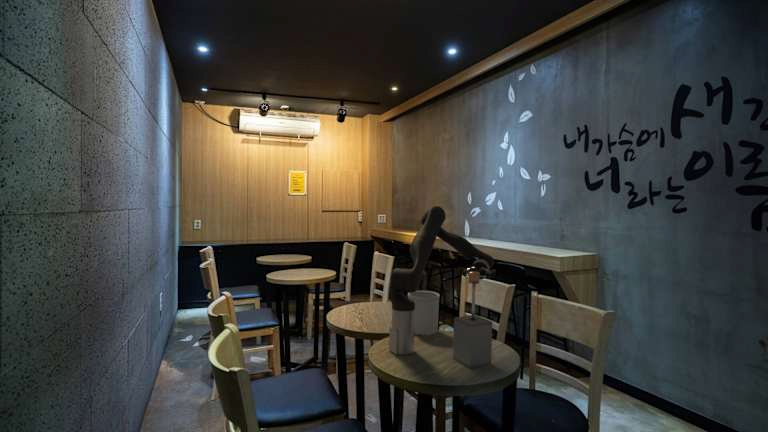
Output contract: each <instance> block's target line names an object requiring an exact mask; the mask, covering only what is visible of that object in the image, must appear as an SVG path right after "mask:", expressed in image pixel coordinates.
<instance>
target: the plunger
mask: <svg viewBox="0 0 768 432" xmlns="http://www.w3.org/2000/svg"><path fill="white" fill-rule="evenodd" d="M468 284H471V285H472V286H471V315H472V316H471V315H470V316H471V320H472V321H474V320H475V315H476V313H475V312H476V286H477V285H476V284H480V272H476V271H470V272H469V276H468Z"/></svg>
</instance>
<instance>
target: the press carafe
mask: <svg viewBox="0 0 768 432" xmlns="http://www.w3.org/2000/svg"><path fill="white" fill-rule="evenodd" d="M471 316H472V314H471V315H463V316H457V317H454V318H453V322H454V324H453V351H452V352H453V353H452V354H453V360H455V361H456V362H458V363H460V364H461V365H463V366H465V367H467V368H468V369H471V368H472V369H473V368H478V367H482V366H488V365H492V350H493V347H492V346H493V343H492V341H493V340H492V339H493V321H492V320H489V319H487V318H484V317H481V316H479V315H476V314H475V320H474V321H472V320H471Z"/></svg>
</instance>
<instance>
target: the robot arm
mask: <svg viewBox="0 0 768 432" xmlns="http://www.w3.org/2000/svg"><path fill="white" fill-rule="evenodd" d="M446 217H447V215H446V212H445V210H444V208H443V207H441V206H438V205H433V206H432V207H430V208H428V209H427V211H426V212H425V213H424V215H423V216H422V217H421V219H420V223H421V225H422V226H421V227H420V229H419V230H418V231H417V232H416V234H415V236H414V237H413V239H412V242H411V244H410V246H409V253H410V257H411V259H412V262H413V267H412V268H399V267H397V268H394V269H393V270H392V273H391V276H390V294H391V295H390V296H391V297H390V298H391V301H390V302H391V326H389V330H388V331H389V334H388V335H389V337H388V338H389V339H388V343H389V344H388V350H389V351H390V352H391V353H393V354H394V355H396V356H397V355H398V356H399V355H402V356H407V355H412V354H413V353H415V334H414V328H415V302H414V301H413V300H411V299H409V298H408V296H406V295H405V294H404V293H413V292H415V291H418V290H419V286H420V284H421V280H422V278H423V274H424V270H425V267H426V265H427V262H428V259H429V257H430V255H431V253H432V250H433V248H434V245H435V242H436V239H437V238H438V239H440V240H441V241H443V242H445V243H446V244H448V245H449V246H450V247H452V249H454V250H455V251H456V252H458V253H459V255H461V256H462V257H463V258H464V259H465V260H467V261H469V260H472V259H473V258H475V257H478V258H477V259H476V260H475V261H474V262H473V263H472V264H471V265H470V266H469V267H467V268H466V267H464V266H462V267H460V268H459V271H458V272H459V273H458V275H459V276H463V277H464V278H466V277H469V272H470V271H476V272H480V280H483V279H490V278H491V277H492V278H493V279H494V278H496V269H494V268H492V267H493V266H495V264H496V263H495V259H494V258H493V257H492V255H489V254H488V253H486V252H484V251H482V250H480V249H478V248H477V247H476V246H474V245H473V244H472V243H471V242H470V241H469V240H468V239H466V238H465V237H463V236H461V235H457V234H454V233H451V232H449V231H447V230H445V228H443V227H442V226H443V225H444V222H445V221H446ZM490 269H491V270H490ZM480 280H479V281H480Z"/></svg>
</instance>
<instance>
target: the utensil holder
mask: <svg viewBox="0 0 768 432" xmlns="http://www.w3.org/2000/svg"><path fill="white" fill-rule="evenodd" d="M407 298H409V299H411V300H413V301H414V302H415V328H414V333H416V334H415V335H417V334H422V335H421V336H431V335H432V336H433V335H436V333H438V330H439V329H438V328H439V308H440V307H439V305H440V304H439V303H440V298H441V297H440V294H439V293H438V292H436V291H430V290H416V291H415V292H413V293H409V292H407Z"/></svg>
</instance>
